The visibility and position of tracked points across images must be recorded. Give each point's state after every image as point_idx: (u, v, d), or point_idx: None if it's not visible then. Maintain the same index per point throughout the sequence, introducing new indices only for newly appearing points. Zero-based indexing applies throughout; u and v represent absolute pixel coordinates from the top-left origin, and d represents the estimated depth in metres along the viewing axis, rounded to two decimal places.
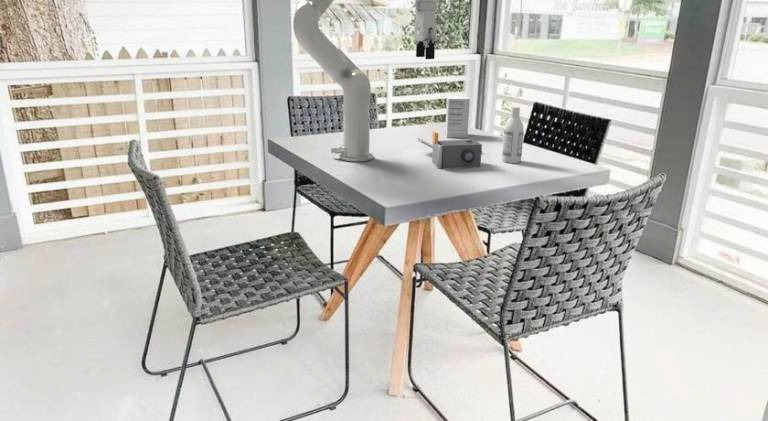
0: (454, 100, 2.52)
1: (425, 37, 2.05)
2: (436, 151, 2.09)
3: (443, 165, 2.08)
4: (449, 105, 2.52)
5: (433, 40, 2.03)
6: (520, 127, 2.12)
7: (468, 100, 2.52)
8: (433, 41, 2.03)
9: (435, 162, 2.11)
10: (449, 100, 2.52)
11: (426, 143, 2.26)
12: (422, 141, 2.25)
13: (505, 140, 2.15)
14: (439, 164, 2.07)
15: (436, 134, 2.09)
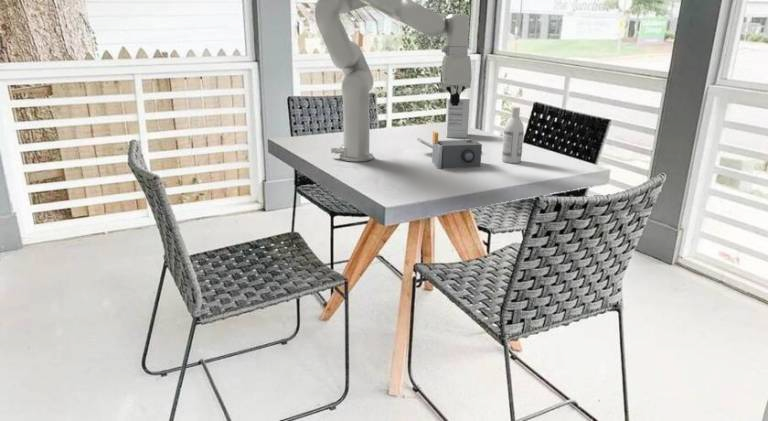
0: None
1: None
2: (436, 151, 2.09)
3: (443, 165, 2.08)
4: (449, 105, 2.52)
5: None
6: (520, 127, 2.12)
7: (468, 100, 2.52)
8: None
9: (435, 162, 2.11)
10: (449, 100, 2.52)
11: (425, 143, 2.26)
12: (421, 141, 2.25)
13: (505, 140, 2.15)
14: (439, 164, 2.07)
15: (436, 134, 2.09)
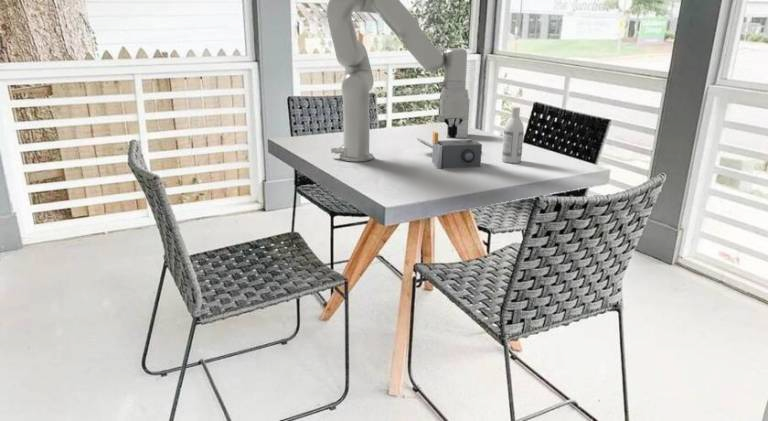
0: None
1: None
2: (436, 151, 2.09)
3: (443, 165, 2.08)
4: None
5: None
6: (520, 127, 2.12)
7: None
8: None
9: (435, 162, 2.11)
10: None
11: (425, 143, 2.26)
12: (421, 141, 2.25)
13: (505, 140, 2.15)
14: (439, 164, 2.07)
15: (436, 134, 2.09)
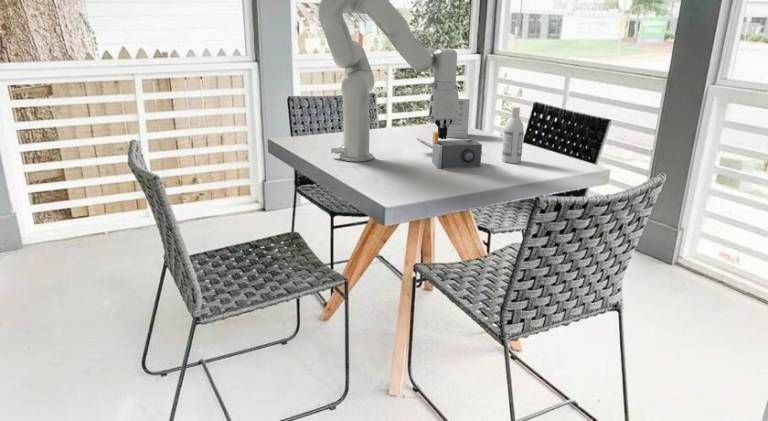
0: None
1: None
2: (436, 151, 2.09)
3: (443, 165, 2.08)
4: None
5: None
6: (520, 127, 2.12)
7: (468, 100, 2.52)
8: None
9: (435, 162, 2.11)
10: None
11: (425, 143, 2.26)
12: (421, 141, 2.25)
13: (505, 140, 2.15)
14: (439, 164, 2.07)
15: (436, 134, 2.09)
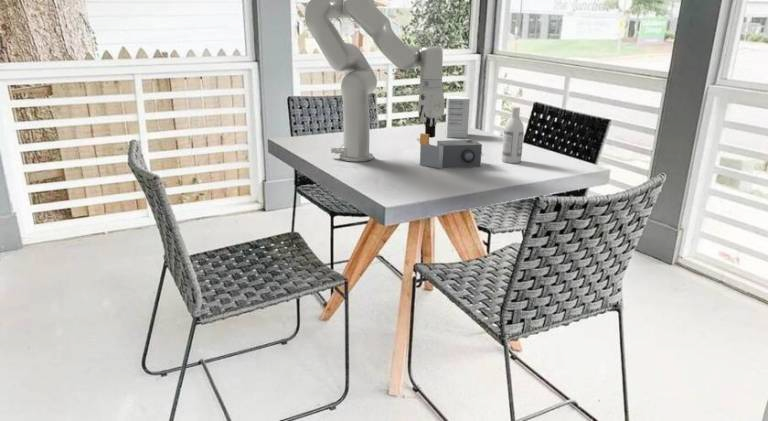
0: (454, 100, 2.52)
1: None
2: (433, 152, 2.07)
3: (443, 165, 2.08)
4: (449, 105, 2.52)
5: None
6: (520, 127, 2.12)
7: (468, 100, 2.52)
8: None
9: (430, 164, 2.09)
10: (449, 100, 2.52)
11: None
12: None
13: (505, 140, 2.15)
14: (441, 164, 2.06)
15: (428, 135, 2.07)
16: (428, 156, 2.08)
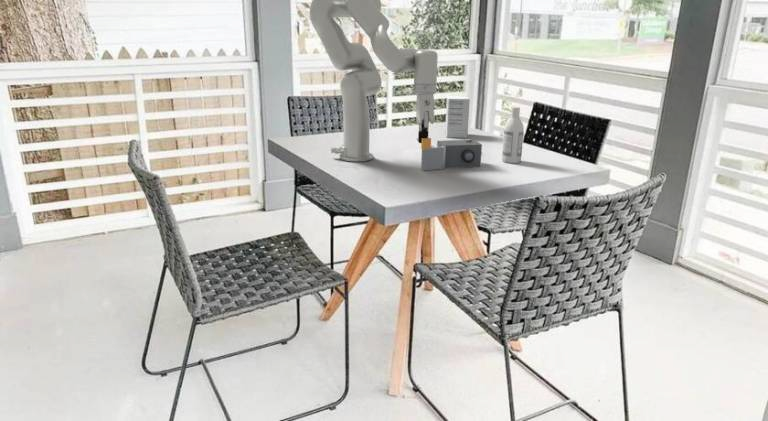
0: (454, 100, 2.52)
1: None
2: (436, 154, 2.04)
3: None
4: (449, 105, 2.52)
5: None
6: (520, 127, 2.12)
7: (468, 100, 2.52)
8: None
9: (434, 166, 2.05)
10: (449, 100, 2.52)
11: None
12: None
13: (505, 140, 2.15)
14: None
15: None
16: (431, 160, 2.04)
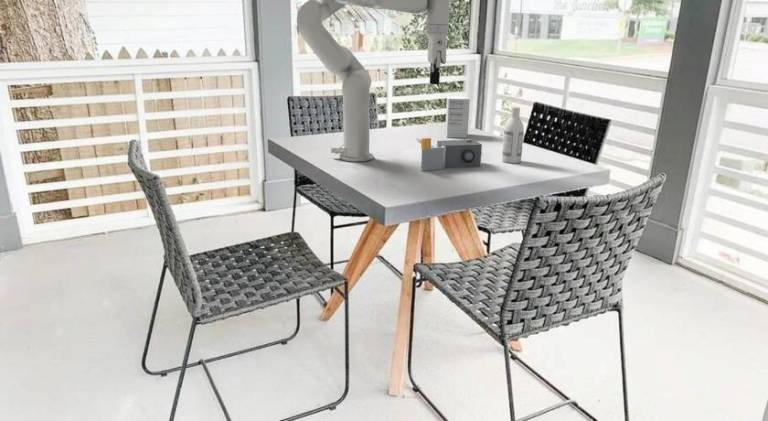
0: (454, 100, 2.52)
1: None
2: (436, 154, 2.04)
3: None
4: (449, 105, 2.52)
5: None
6: (520, 127, 2.12)
7: (468, 100, 2.52)
8: None
9: (434, 166, 2.05)
10: (449, 100, 2.52)
11: None
12: (421, 141, 2.25)
13: (505, 140, 2.15)
14: None
15: None
16: (431, 160, 2.04)
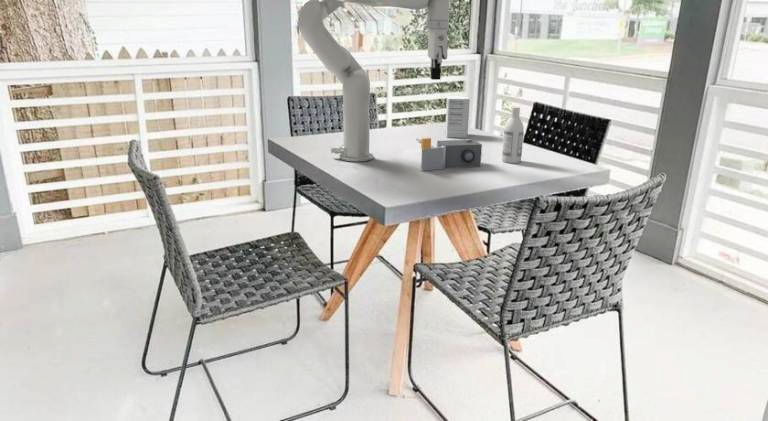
0: (454, 100, 2.52)
1: None
2: (436, 154, 2.04)
3: None
4: (449, 105, 2.52)
5: None
6: (520, 127, 2.12)
7: (468, 100, 2.52)
8: None
9: (434, 166, 2.05)
10: (449, 100, 2.52)
11: None
12: (420, 141, 2.25)
13: (505, 140, 2.15)
14: None
15: None
16: (431, 160, 2.04)
